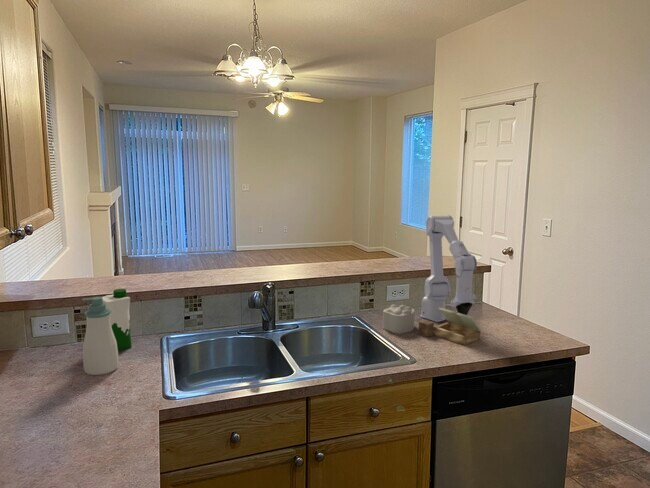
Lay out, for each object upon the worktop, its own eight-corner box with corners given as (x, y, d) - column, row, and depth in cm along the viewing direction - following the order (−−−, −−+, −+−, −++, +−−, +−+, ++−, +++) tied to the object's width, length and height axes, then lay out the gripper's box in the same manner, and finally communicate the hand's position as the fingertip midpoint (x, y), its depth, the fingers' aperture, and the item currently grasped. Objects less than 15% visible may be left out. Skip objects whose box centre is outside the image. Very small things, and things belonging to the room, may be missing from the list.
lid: (438, 309, 177) (439, 307, 178) (448, 321, 183) (449, 319, 184) (470, 318, 167) (471, 316, 167) (480, 331, 173) (481, 329, 173)
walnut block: (418, 334, 178) (418, 321, 177) (424, 331, 180) (425, 319, 179) (426, 337, 175) (427, 324, 174) (433, 334, 177) (433, 322, 176)
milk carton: (135, 347, 159) (132, 291, 156) (108, 354, 152) (104, 296, 149) (124, 340, 165) (121, 286, 162) (98, 347, 158) (94, 291, 155)
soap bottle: (86, 365, 145) (80, 295, 141) (120, 361, 148) (115, 292, 144) (81, 378, 136) (76, 304, 132) (118, 373, 139) (113, 301, 135)
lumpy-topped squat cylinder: (378, 327, 185) (379, 306, 183) (401, 321, 192) (402, 301, 191) (397, 334, 176) (398, 313, 175) (420, 328, 184) (421, 307, 183)
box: (433, 334, 177) (433, 327, 177) (448, 328, 184) (448, 321, 183) (465, 345, 167) (465, 337, 166) (479, 339, 173) (480, 331, 173)
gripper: (462, 293, 166) (460, 328, 169) (483, 285, 176) (481, 319, 178) (446, 288, 171) (444, 323, 174) (467, 281, 181) (465, 314, 184)
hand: (461, 320), depth 177 cm, fingers closed, pressing on lid
